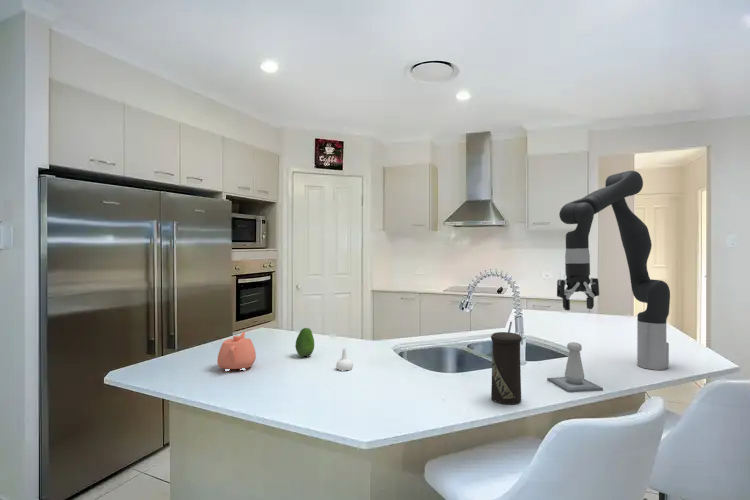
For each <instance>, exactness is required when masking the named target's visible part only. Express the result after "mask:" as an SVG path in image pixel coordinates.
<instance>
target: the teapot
mask: <svg viewBox="0 0 750 500" xmlns="http://www.w3.org/2000/svg"><path fill="white" fill-rule="evenodd" d="M245 334H246V332H245V331H243V332H241V333H240V335H234V336H232V338H228V339H225V340H224V341H223V342H222V343H221V346H220V348H219V351H218V354H217V360H216V361H217V366H218V367H219V368H220V369H223V370H225V369H231V370H237V369H238V370H240V369H242V368H246V369H247V368H248V369H249V368H251V367H252V366H253V365H254V363H255V361H256V358H257V356H256V355H257V354H256V348H255V346H254V343H253V341H252V339H251V338H246V337H245V336H246V335H245Z"/></svg>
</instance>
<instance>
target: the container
mask: <svg viewBox="0 0 750 500" xmlns="http://www.w3.org/2000/svg"><path fill="white" fill-rule="evenodd" d="M490 339H491V341H492V349H491V352H492V353H491V354H492V355H491V393H490V394H491V397H490V398H491V400H492V401H494V402H496V403H499V404H502V405H503V404H504V405H518V404H520V403H521V402H522V382H521V381H522V376H521V375H522V374H521V372H522V371H521V369H522V368H521V341H523V337H522V336H521V335H520V334H518V333H515V332H509V331H506V332H505V331H499V332H494V333H493V334H491V335H490Z"/></svg>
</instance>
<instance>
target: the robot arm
mask: <svg viewBox="0 0 750 500" xmlns="http://www.w3.org/2000/svg"><path fill="white" fill-rule="evenodd" d="M604 184H605V187H602V188H599V189H597V190H594V191H592V192H591V193H589V194H587V195H585V196H583V197H582V198H578V199H576V200H572V201H570V202H568V203H565V204H564V205H562V207H561V208H560V209H559V210H560V211H559V219H560V220H561V222H562V223H564V224H566V225H576V227H575V229H573V230H571V231H568V232H567V233H566V234H565V253H564V254H565V255H564V260H565V262H564V264H565V268H564V269H565V270H564V271H565V272H564V273H565V277H566V278H565V279H560V278H559V279H557V282H556V285H557V286H556V297H558V298H561V299H562V307H563V310H564V311H570V310H571V300H570V298H571V296H572V295H573V294H574V293H578V292H582V293H584V294H585V296H586V309H589V310H593V308H594V305H595V304H594V303H595V300H594V299H595V297H597V296H600V286H599V278H595V277H590V276H591V259H590V257H591V256H590V255H591V254H590V250H589V248H590V247H589V246H590V245H589V235H590V232H591V228H592V224H593V221H594V217H595V215H596V214H598V213H600V212H601V211H603V210H604V209H606V208H608V207H609V206H611V208H612V211H613V213H614V216H615V220H616V222H617V227H618V231H619V235H620V240H621V244H622V247H623V250H624V253H625V257H626V258H625V259H626V261H627V266H628V271H629V279H630V284H631V291H632V295H633V296H634V299H636V301H639V302H641V303H645V304H646V309H645V310H644V311H640V312H638V313H637V320H636V321H637V322H636V323H637V325H636V326H637V327H636V328H637V329H636V330H637V333H636V334H637V338H636V340H637V342H636V346H637V347H636V350H637V351H636V352H637V353H636V354H637V355H636V356H637V357H636V362H637V363H636V365H637V366H638V367H640V368H643V369H647V370H652V371H653V370H656V371H663V370H667V369H669V368H670V367H669V366H670V365H669V363H670V360H669V359H670V358H669V357H670V352H669V351H670V348H669V347H670V346H669V345H670V343H669V342H667V320H668V317H669V315H670V303H671V291H670V290H671V289H670V286H669V284H668V283H667V282H665V281H664V280H660V279H651V277H650V275H649V271H648V265H647V264H648V260H649V258H650V257H649V256H650V255H651V251H652V239H651V236H650V235H651V234H650V232H649V229H648V226H647V225H646V224H645V223H644V221H643V220H642V219H641V218H639V217H638V216H637V215H636V214H635V213H634V212H633V211H632V210H631V209H630V208H629V205H628V203H627V201H626V197H631V196H634V195H638V194H639V193H640V192H641V191H642V190H643V187H644V181H643V177H642V175H641V173H639V172H638V171H636V170H626V171H622V172H619V173H614V174H611V175H609V176H607V178H606V180H605V183H604Z"/></svg>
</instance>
